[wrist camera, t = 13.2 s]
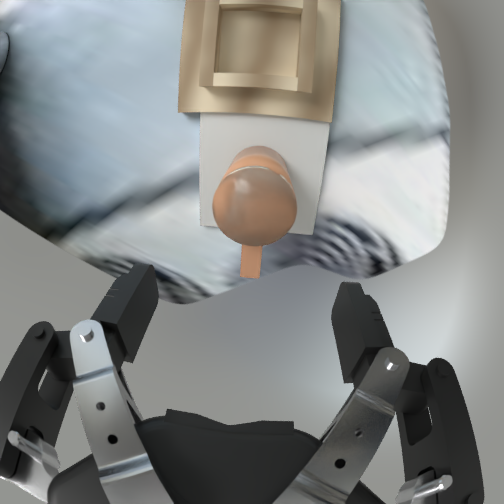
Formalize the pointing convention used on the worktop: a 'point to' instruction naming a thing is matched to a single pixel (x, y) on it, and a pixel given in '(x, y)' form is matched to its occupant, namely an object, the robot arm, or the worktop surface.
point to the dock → (260, 57)
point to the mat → (269, 135)
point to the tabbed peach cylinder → (255, 203)
